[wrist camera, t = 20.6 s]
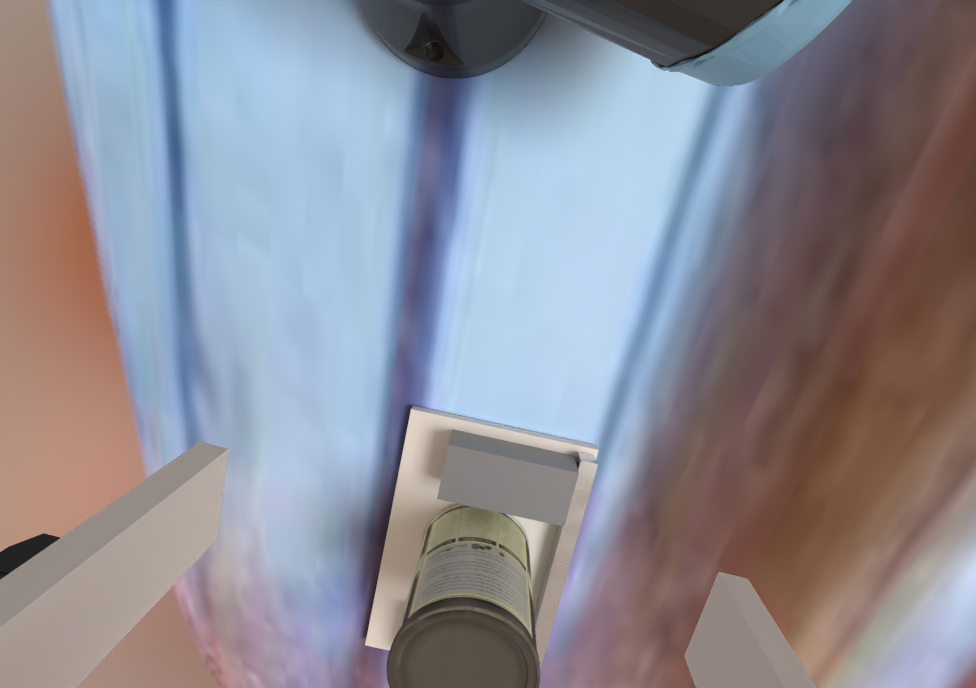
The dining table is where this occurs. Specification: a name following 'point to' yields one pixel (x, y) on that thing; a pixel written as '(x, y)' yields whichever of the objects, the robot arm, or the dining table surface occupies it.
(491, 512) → the coffee can
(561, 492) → the block
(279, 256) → the dining table surface
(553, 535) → the mounting board
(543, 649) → the metal rail
